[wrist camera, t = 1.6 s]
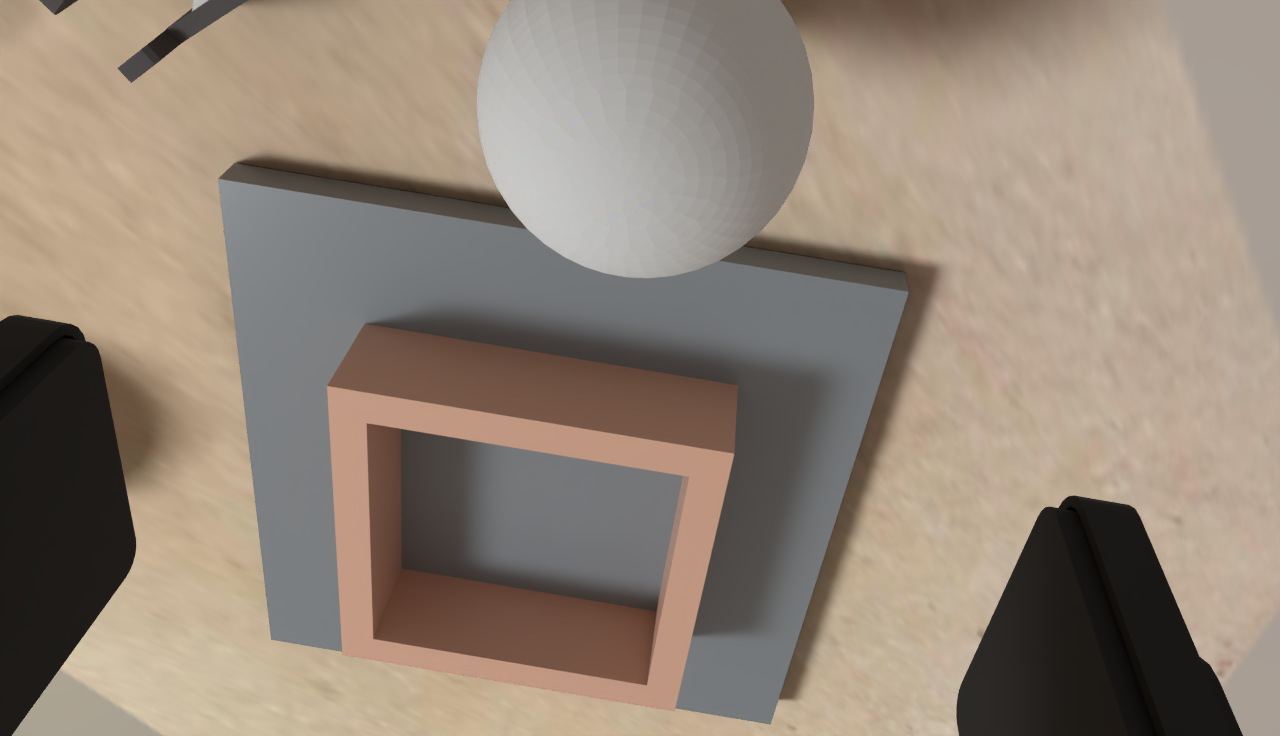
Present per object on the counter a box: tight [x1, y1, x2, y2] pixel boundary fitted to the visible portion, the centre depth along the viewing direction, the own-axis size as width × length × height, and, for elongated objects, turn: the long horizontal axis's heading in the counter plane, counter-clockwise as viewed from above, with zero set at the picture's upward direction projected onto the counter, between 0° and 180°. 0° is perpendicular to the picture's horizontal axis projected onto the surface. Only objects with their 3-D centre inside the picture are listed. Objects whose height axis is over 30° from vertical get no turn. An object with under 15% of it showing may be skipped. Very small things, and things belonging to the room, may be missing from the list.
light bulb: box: [477, 0, 814, 278], centre depth 20 cm, size 6×6×10 cm
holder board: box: [218, 163, 909, 724], centre depth 31 cm, size 18×18×4 cm
